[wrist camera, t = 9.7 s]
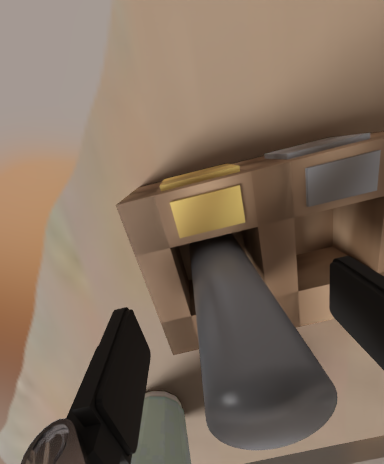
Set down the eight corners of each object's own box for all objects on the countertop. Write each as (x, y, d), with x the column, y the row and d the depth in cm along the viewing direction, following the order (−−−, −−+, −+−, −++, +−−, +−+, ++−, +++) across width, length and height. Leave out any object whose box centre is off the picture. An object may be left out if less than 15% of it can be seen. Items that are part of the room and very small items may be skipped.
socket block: (341, 131, 15) (440, 117, 10) (338, 260, 19) (406, 305, 14) (137, 183, 16) (112, 200, 10) (175, 298, 20) (173, 357, 14)
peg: (231, 219, 15) (338, 351, 5) (238, 261, 16) (336, 435, 6) (184, 231, 15) (192, 383, 5) (195, 271, 17) (219, 459, 6)
